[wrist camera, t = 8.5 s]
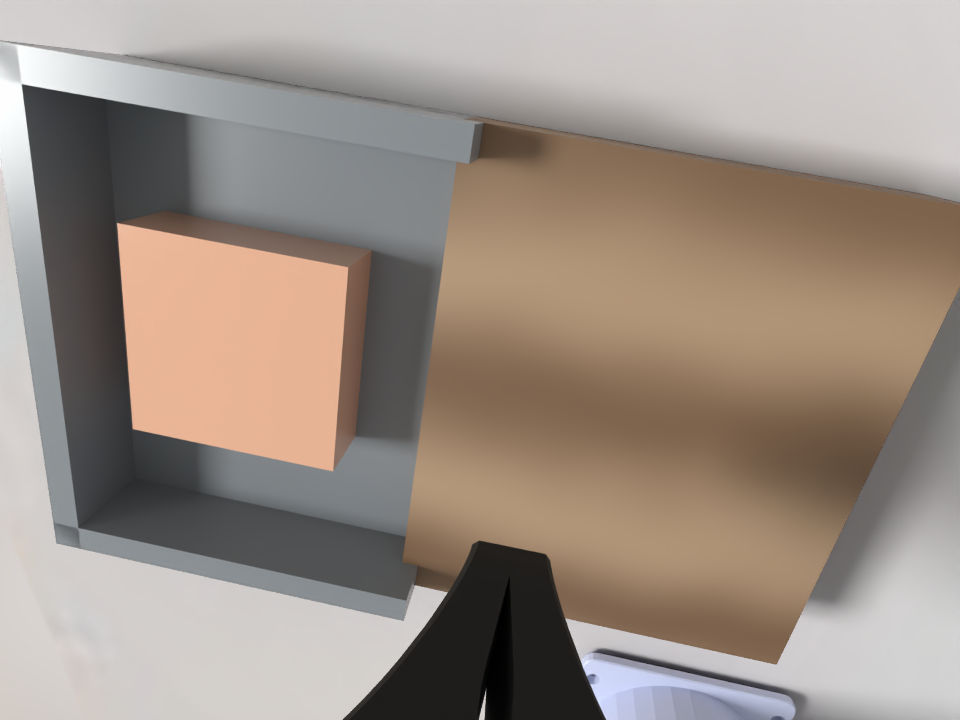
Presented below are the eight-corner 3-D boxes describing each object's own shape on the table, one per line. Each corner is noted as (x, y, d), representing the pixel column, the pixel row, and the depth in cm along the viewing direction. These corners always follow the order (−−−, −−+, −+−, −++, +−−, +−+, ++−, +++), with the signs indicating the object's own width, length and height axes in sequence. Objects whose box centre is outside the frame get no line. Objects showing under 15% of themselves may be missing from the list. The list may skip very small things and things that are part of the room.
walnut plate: (749, 594, 22) (776, 664, 19) (419, 523, 22) (399, 581, 20) (923, 194, 16) (996, 212, 14) (479, 117, 17) (462, 118, 14)
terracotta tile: (355, 436, 19) (333, 471, 17) (173, 399, 20) (132, 428, 18) (372, 249, 17) (348, 267, 15) (164, 210, 17) (117, 223, 15)
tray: (433, 526, 22) (403, 621, 18) (147, 465, 23) (56, 543, 19) (497, 120, 17) (474, 124, 13) (119, 54, 18) (-18, 38, 13)
